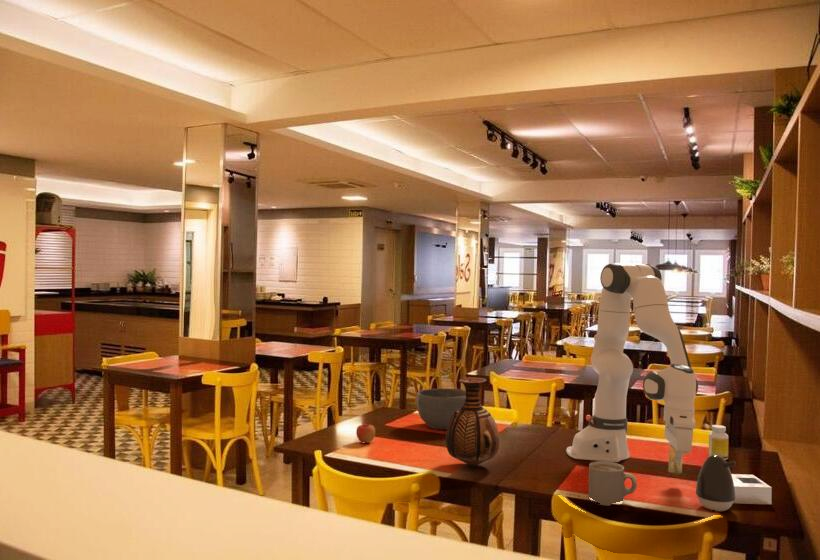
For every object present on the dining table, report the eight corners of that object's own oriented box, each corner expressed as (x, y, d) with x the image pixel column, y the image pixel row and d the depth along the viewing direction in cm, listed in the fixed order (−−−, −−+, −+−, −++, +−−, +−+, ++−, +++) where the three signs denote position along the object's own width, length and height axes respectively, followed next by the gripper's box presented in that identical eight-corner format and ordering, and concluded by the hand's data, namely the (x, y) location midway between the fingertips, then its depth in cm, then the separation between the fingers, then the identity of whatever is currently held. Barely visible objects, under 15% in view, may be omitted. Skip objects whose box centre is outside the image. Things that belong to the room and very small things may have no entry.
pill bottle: (730, 461, 237) (730, 429, 237) (710, 460, 238) (711, 427, 238) (725, 456, 243) (726, 424, 243) (706, 455, 244) (707, 423, 244)
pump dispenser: (729, 517, 182) (730, 462, 182) (690, 508, 189) (691, 455, 189) (740, 508, 190) (741, 455, 189) (702, 499, 196) (703, 448, 196)
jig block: (722, 502, 194) (722, 485, 194) (706, 489, 206) (706, 473, 206) (771, 504, 193) (771, 487, 193) (752, 490, 205) (752, 474, 205)
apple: (378, 443, 255) (379, 423, 255) (362, 446, 251) (362, 425, 251) (369, 439, 261) (369, 419, 261) (352, 442, 257) (353, 421, 257)
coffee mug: (586, 502, 193) (586, 468, 193) (591, 492, 202) (591, 459, 202) (634, 509, 187) (635, 474, 187) (637, 498, 196) (638, 465, 196)
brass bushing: (669, 472, 207) (671, 447, 207) (666, 469, 211) (668, 444, 211) (683, 474, 207) (684, 448, 207) (679, 470, 211) (681, 445, 211)
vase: (507, 475, 218) (508, 384, 217) (453, 477, 215) (454, 385, 214) (488, 456, 239) (489, 373, 238) (439, 458, 236) (440, 374, 235)
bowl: (412, 420, 294) (412, 387, 294) (466, 420, 297) (466, 386, 297) (419, 434, 270) (419, 398, 270) (477, 433, 272) (478, 397, 272)
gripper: (661, 408, 220) (658, 450, 220) (675, 422, 199) (672, 468, 200) (681, 410, 219) (678, 452, 219) (697, 424, 198) (694, 470, 199)
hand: (675, 460), depth 209 cm, fingers closed on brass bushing, 4 cm apart
